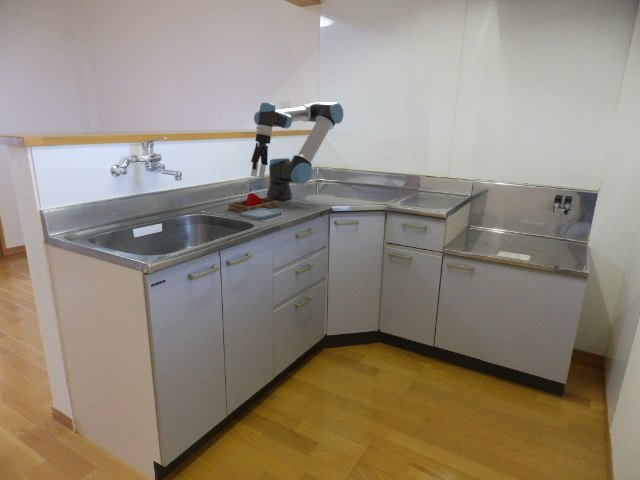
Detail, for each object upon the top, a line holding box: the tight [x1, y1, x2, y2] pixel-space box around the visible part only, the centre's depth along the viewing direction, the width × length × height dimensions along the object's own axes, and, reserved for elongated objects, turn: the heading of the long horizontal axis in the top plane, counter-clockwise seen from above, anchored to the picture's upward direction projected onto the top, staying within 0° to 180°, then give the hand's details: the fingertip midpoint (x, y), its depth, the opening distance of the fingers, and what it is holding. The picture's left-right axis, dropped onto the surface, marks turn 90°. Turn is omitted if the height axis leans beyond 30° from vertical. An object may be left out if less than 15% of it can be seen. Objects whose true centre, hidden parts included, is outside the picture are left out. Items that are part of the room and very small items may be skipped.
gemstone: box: [246, 192, 262, 207], centre depth 218 cm, size 9×9×10 cm
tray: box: [239, 208, 282, 221], centre depth 204 cm, size 15×13×2 cm
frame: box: [228, 197, 280, 213], centre depth 219 cm, size 23×14×3 cm, turn 145°
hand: (257, 176), depth 215 cm, fingers open, 13 cm apart
